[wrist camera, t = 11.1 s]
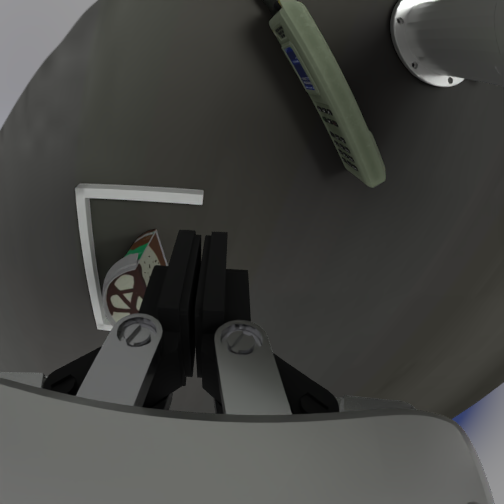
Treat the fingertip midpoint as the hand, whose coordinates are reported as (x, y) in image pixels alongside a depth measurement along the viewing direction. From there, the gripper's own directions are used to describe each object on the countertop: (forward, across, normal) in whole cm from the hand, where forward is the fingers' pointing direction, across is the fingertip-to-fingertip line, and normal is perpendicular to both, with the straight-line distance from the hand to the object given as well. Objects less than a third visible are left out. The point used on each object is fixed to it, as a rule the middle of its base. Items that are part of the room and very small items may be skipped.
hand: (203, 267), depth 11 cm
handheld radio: (+26, -8, -8) cm, 28 cm away
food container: (+25, +10, +18) cm, 32 cm away
